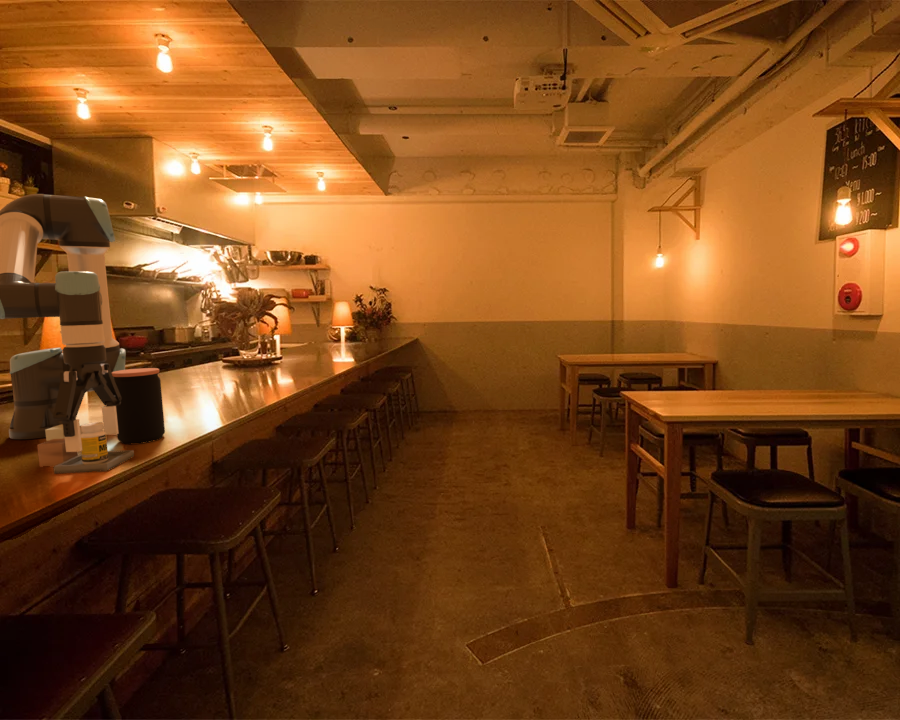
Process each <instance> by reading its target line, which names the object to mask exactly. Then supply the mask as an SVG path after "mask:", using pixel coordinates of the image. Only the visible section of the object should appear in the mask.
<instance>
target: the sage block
mask: <svg viewBox="0 0 900 720" xmlns="http://www.w3.org/2000/svg"><path fill="white" fill-rule="evenodd" d="M45 432H46V437H45V442H46V441H49V440H52V439H65V437H64V431H63V424H61V425H58V426H55V427H52V428H49V429H46V430H45Z"/></svg>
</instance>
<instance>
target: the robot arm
mask: <svg viewBox="0 0 900 720" xmlns="http://www.w3.org/2000/svg"><path fill="white" fill-rule="evenodd" d="M112 224H113V223H112V220H111V216H110V212H109V208H108V205H107V202H106V201H104V200H103V199H101V198H96V197H88V196H76V195H73V196H71V195H56V194H55V195H54V194H44V193H33V194H27V195H23V196H20V197H18V198H16V199H14V200H12V201H10V202H8V203H6V205H4V206H3V207H2V208H1V209H0V319H1V320H6V319H27V318H29V319H30V318H32V319H33V318H59V325H60V335H61V344H63V345H65V346H64V347H63V348H62V347H51V348H44V349H39V350H32V351H27V352H22V353H18V354H17V353H16V354H15V355H12V356H11V357H10V359H9V374H10V380H11V386H12V396H13V405H14V410H13V414H12V418H11V421H10V425H9V428H8V434H9V435H8V437H9V438H10V439H11V440H34V439H43V438H46V432H45V430H46V429H49V428H52V427H55V426H58V425H61V424H63V431H64V437H65V446H66V452H78V453H79V452H81V451H82V442H81V433H80V426H81V425H80V419H77V417H78V413H79V410H80V407H81V405H82V402H83V400H84V397H85V395H86V393H87V392H94V393H95V394H96V395H97V397H98V399H99V400H100V401H101V402H102V404H103V406H102V407H101V415H102V423H103V426H104V429H103V431H105V432H106V436H107V435H110V436H111V435H117V434H118V423H117V412H116V405H120V404H121V399H122V398H121V395H120V392H119V390H118V388H117V385H116V383H115V380H114V378H113V375H112V372H114V371H120V370H126V357H127V356H126V355H127V353H126V349H125V348H122V347H121V346H120V342H118V340H116V339H115V338H114V337H113V331H112V329H113V328H112V320H111V319H112V317H111V309H110V300H109V299H110V298H109V289H108V278H107V277H108V276H107V268H106V258H105V255H106V253H107V252H108V251H110V249H111V245H110V244H111V243H113V242H115V241H116V237H115V232H114V230H113V225H112ZM42 240H52V241H53V240H56V241H58V246H59V248H60V249H62V250H63V251H64V252H65V253H66V256H67V258H66V259H67V266H68V271H67V270H66V271H59V272H57V273H55V276H54V279H55V282H35V278H36V277H35V276H36V266H37V265H36V264H37V255H38V253H37V252H38V244H39V243H41V241H42ZM120 347H121V348H120ZM114 395H115V396H114Z"/></svg>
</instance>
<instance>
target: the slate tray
mask: <svg viewBox="0 0 900 720" xmlns="http://www.w3.org/2000/svg"><path fill="white" fill-rule="evenodd" d="M133 456H134V457H135V451H134V450H133V449H131V450H109V451H108V460H107V461H105V462H103V463H96V464H83V463H82V454H81V453H80V454H78V456H76V457H74V458H71V459H69V460H67V461H65V462H63V463H60V464H58V465H56V466H53V474H54V475H55V474H72V473H73V474H74V473H76V472H77V473H93V472H92V471H97V472H108V471H107V470H109V469H110V470H112V469H114V468H116V467H117V465H118V466H120V465H121V464H123V463H125V462H127V461H128V459H129V460H130V458H131V457H132V458H134V457H133ZM132 458H131V459H132ZM126 460H127V461H126ZM124 461H125V462H124ZM122 462H123V463H122ZM120 463H121V464H120ZM119 464H120V465H119ZM115 466H116V467H115ZM113 467H114V468H113ZM111 468H112V469H111ZM110 470H109V471H110Z"/></svg>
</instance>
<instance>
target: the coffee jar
mask: <svg viewBox="0 0 900 720" xmlns="http://www.w3.org/2000/svg"><path fill="white" fill-rule="evenodd" d="M159 374H160V368H157V367H149V368H148V367H145V368H143V367H142V368H140V367H139V368H130V369H125V370H120V371H114V372H112V375H113V378H114V380H115V383H116V385H117V388H118V390H119V392H120V395H121V398H122V399H121V404H120V405H116V412H117V423H118V434H116V437H117V440H118V441H119V442H120V443H121V444H123V443H124V445H132V444H131V443H139V444H144V443H143V442H146V443H150V442H149V441H151V442H154V441H153V440H155V441H158V440H160V439H162V438H163V436H164V434H165V432H166V429H165V420H164V417H165V416H164V406H163V395H162V385H161V383H162V382H161V378H160V376H159ZM114 396H115V395H114ZM157 439H158V440H157Z"/></svg>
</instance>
